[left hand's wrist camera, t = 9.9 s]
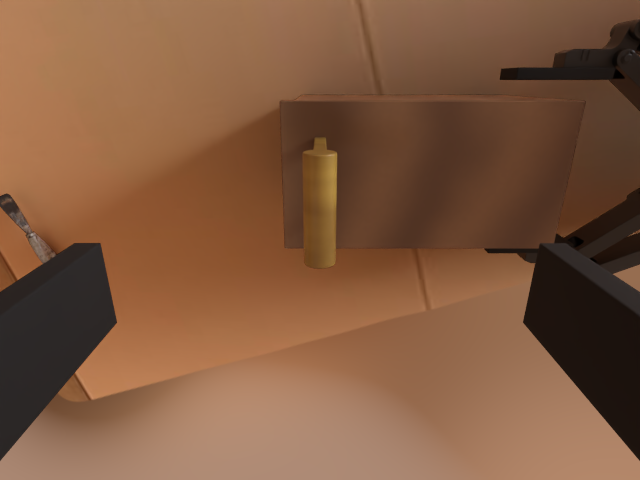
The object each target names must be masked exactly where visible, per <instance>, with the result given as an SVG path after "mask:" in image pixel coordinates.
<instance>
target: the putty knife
mask: <svg viewBox="0 0 640 480" xmlns="http://www.w3.org/2000/svg"><path fill="white" fill-rule="evenodd" d="M0 207H1V208H2V209H3V211H5V212H6V214H7V215H8V216H9V217H10V218H11V219H12V220H13V221H14V222H15V223H16V224H17V225H18V226H19V227H20V228H21V229H22V230H23V231H24V232H25V233H26V234H27V235H26V237H27V238H28V241H29V243H30V245H31V246H32V248H33V250H34V251H35V253H36V254H37V256H38V257H39V259H40V260H41V262H42V263H43V264H44V263H45V262H47V261H48V260H50V259H51V258H53V257H54V256H56V253H55V252H54V251H53V250H52V249H51V248H50V247H49V246H48V245H47V244H46V243H45V242H44V241H43V240H42V239H41V238H40V237H39V236H38V235H37V234H36V233H35V232H32V230H31V228H30V226H29V224H28V223H27V221H26V219H25V217H24V216H23V214H22V212H21V211H20V209H19V208H18V206H17V204H16V203H15V201H14V200H13V199H12V197H11V196H10V195H9V194H4V195H2V196H0Z"/></svg>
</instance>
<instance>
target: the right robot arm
mask: <svg viewBox="0 0 640 480" xmlns="http://www.w3.org/2000/svg"><path fill="white" fill-rule="evenodd" d="M610 37H611V39H610V41H609V42H608V44H607V45H606V46H605V47H604V48H603V49H572V50H564V51H561V52H558V53H556V54H555V58H554V63H553V68H506V69H501V75H500V80H609V81H610V82H611V83H612V84H613V85H614V86H615V87H616V88H617V89H618V90H619V91H620V92H621V93H622V94H623V95H624V96H625V97H627V98H628V99H629V100H630V101H631V102H632V103H633V104H634V105H635V106H636V107H637V108H638V109H639V110H640V57H639V55H640V19H638V20H633V21H628V22H623V23H618V24H616V25H615V26H614V27H613V28H612V29H611V32H610ZM639 229H640V188H638V189H637V190H635V191H633V192H632V193H630V194H629V195H628V196H627V200H626V201H624V202H622V203H621V204H619V205H617V206H616V207H614V208H612V209H611V210H609V211H608V212H606V213H604V214H603V215H601V216H599V217H598V218H596V219H594V220H593V221H591V222H589V223H588V224H586V225H584V226H583V227H581V228H579V229H578V230H576V231H575V232H573V233H571V234H570V235H568V236H566V237H565V238H563V237H561V236H560V235H558V234H556V236H555V241H554V243H566V244H567V245H569V246H570V247H572V248H573V249H575V250H577V251H578V252H580V253H581V254H583V255H584V256H586V257H587V258H589V259H590V260H592V261H593V262H595V263H596V264H598V265H599V266H601V267H602V268H604V269H605V270H607V271H608V272H610V273H612V274H614V273H616V272H619V271H622V270H625V269H628V268H631V267H633V266H636V265H639V264H640V233H637V234H634V235H631V234H632V233H634V232H636V231H637V230H639ZM629 235H631V236H629ZM627 236H628V237H627ZM625 237H626V238H625ZM484 249H485V250H486V251H487V252H488V253H517V254H518V255H519V256H520V257H521V258H523V259H524V260H525V261H527V262H530V263H536V258H537V254H538V249H539V248H484Z"/></svg>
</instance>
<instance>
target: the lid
mask: <svg viewBox="0 0 640 480" xmlns="http://www.w3.org/2000/svg"><path fill="white" fill-rule="evenodd" d="M584 106H585V101H579V100H282V101H280V123H281V152H282V182H283V211H284V241H285V248H304V263H305V265H306V266H308V267H311V268H315V269H324V268H329V267H332V266H333V265H334V264H335V262H336V248H539V244H540V243H554V241H555V236H556V232H557V227H558V223H559V218H560V214H561V209H562V205H563V200H564V196H565V191H566V187H567V183H568V178H569V174H570V169H571V165H572V160H573V156H574V151H575V147H576V142H577V138H578V133H579V129H580V124H581V120H582V115H583V111H584Z"/></svg>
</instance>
